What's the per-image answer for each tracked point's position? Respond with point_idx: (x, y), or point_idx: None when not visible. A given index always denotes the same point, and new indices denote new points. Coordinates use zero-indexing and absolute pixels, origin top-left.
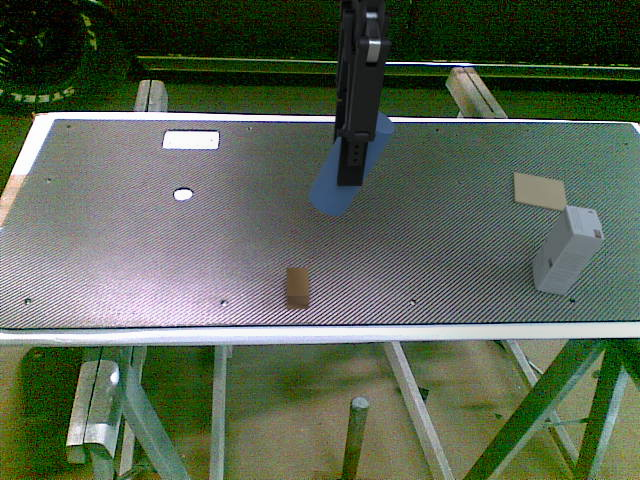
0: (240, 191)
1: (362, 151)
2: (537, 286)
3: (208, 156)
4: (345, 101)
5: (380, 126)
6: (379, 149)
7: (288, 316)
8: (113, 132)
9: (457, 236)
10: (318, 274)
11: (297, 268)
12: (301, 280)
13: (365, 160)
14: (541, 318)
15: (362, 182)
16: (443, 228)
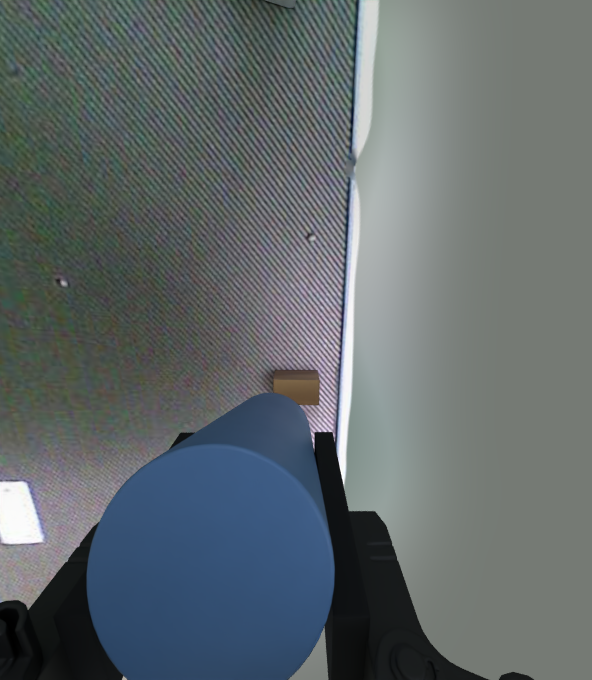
0: (116, 448)
1: (400, 574)
2: (292, 1)
3: (47, 490)
4: (72, 677)
5: (272, 545)
6: (308, 464)
7: (326, 391)
8: (24, 595)
9: (173, 125)
10: (263, 356)
11: (275, 392)
12: (295, 388)
13: (343, 493)
14: (349, 26)
15: (332, 438)
16: (156, 148)
